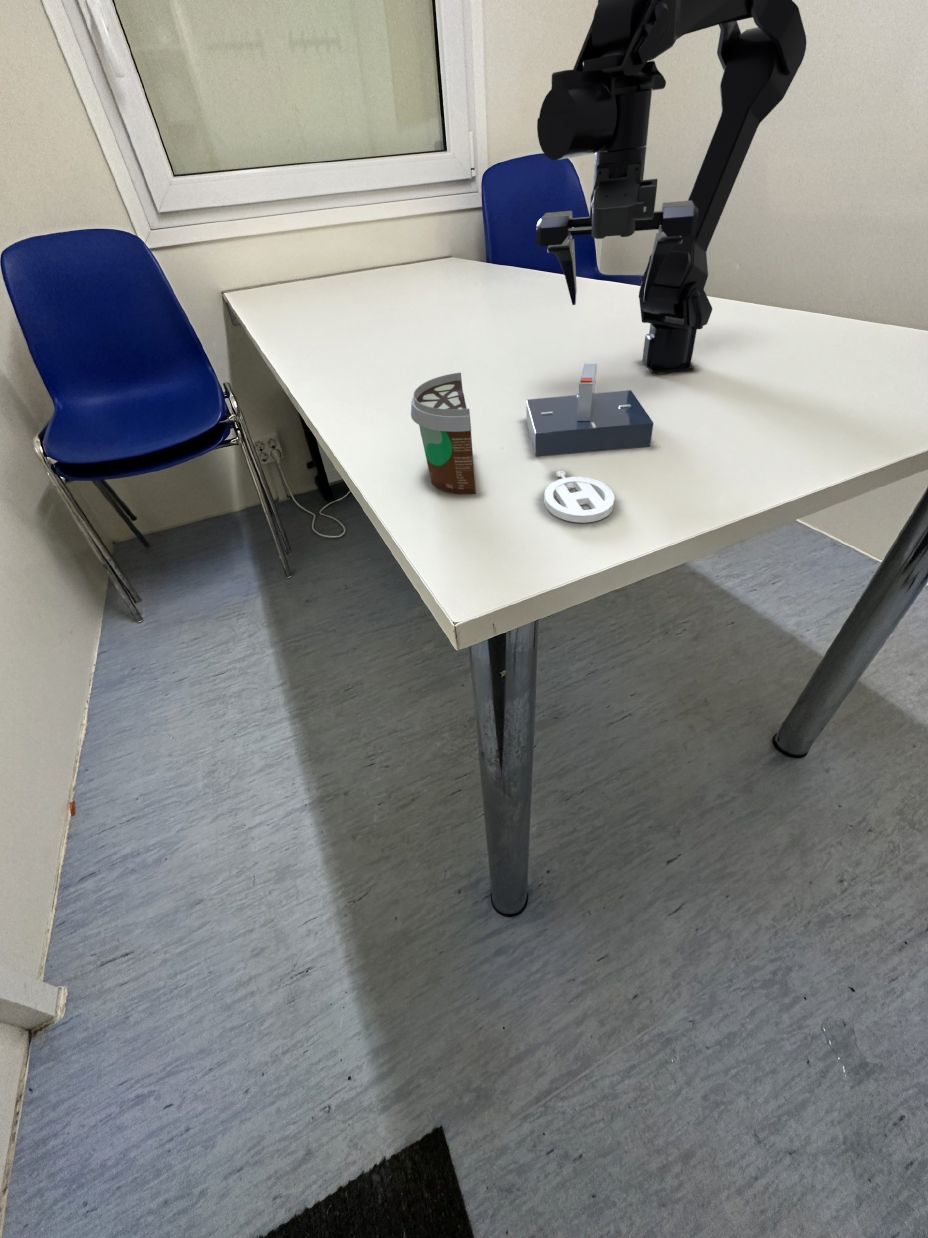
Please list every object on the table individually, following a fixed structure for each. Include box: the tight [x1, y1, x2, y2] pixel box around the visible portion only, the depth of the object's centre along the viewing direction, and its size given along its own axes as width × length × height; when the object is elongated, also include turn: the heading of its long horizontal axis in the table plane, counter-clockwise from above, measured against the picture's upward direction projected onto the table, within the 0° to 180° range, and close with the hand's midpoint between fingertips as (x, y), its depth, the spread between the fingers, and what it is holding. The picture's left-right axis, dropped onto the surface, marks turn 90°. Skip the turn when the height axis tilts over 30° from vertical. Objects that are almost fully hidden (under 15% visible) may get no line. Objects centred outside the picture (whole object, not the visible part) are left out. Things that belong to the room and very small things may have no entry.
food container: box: [410, 371, 477, 495], centre depth 62 cm, size 12×6×10 cm, turn 5°
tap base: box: [525, 389, 654, 457], centre depth 70 cm, size 14×11×3 cm
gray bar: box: [577, 362, 598, 421], centre depth 67 cm, size 7×2×5 cm, turn 166°
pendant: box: [543, 470, 615, 524], centre depth 59 cm, size 7×11×1 cm, turn 12°
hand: (609, 302), depth 73 cm, fingers open, 9 cm apart
